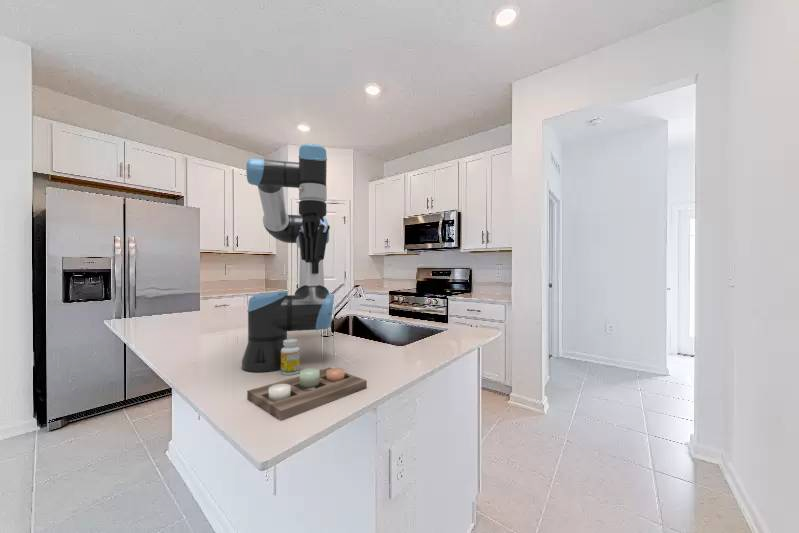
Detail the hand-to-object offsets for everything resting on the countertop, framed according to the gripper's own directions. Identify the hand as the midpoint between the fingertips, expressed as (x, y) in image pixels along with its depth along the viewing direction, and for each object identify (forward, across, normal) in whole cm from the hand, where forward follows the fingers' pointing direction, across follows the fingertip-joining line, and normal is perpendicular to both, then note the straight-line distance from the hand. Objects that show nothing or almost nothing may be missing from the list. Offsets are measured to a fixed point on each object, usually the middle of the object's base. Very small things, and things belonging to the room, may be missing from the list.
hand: (312, 285), depth 91 cm
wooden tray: (+26, +8, -6) cm, 28 cm away
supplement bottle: (+27, -10, -1) cm, 28 cm away
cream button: (+26, +8, -14) cm, 30 cm away
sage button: (+24, +8, -6) cm, 26 cm away
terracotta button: (+26, +8, +2) cm, 27 cm away
